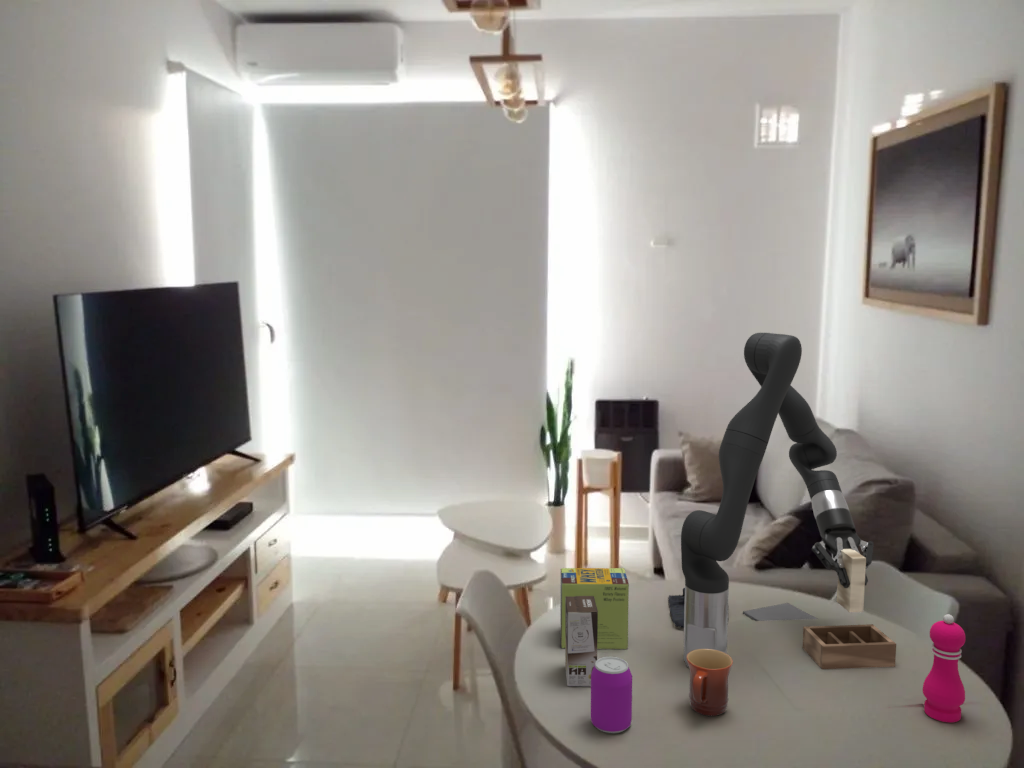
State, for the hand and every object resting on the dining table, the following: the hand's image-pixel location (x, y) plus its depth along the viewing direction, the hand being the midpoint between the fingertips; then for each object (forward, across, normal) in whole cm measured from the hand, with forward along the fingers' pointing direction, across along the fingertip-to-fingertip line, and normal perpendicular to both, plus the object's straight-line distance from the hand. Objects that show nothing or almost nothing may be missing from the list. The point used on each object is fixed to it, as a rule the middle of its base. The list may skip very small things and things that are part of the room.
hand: (855, 586), depth 173 cm
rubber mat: (-3, -4, +28) cm, 29 cm away
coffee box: (+13, -59, +12) cm, 62 cm away
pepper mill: (+27, +8, -2) cm, 29 cm away
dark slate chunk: (-7, -25, +34) cm, 43 cm away
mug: (+25, -37, +1) cm, 45 cm away
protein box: (+1, -54, +25) cm, 59 cm away
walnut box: (+11, 0, +14) cm, 18 cm away
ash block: (+2, 0, +5) cm, 6 cm away
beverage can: (+27, -56, -1) cm, 62 cm away
